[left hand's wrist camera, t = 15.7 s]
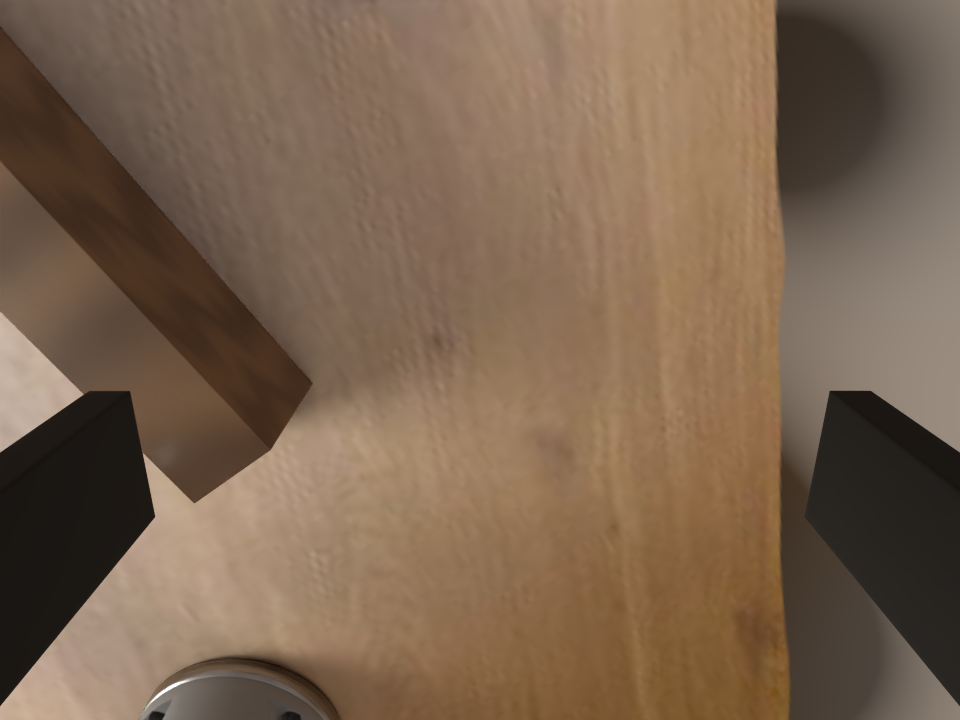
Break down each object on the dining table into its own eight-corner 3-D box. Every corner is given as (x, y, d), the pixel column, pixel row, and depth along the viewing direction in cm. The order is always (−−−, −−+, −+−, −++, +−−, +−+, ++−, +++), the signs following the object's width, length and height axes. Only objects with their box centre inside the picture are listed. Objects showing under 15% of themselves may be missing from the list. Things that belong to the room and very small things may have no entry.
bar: (312, 383, 40) (271, 449, 32) (249, 428, 41) (194, 503, 33) (-28, -6, 33) (-193, -46, 25) (-94, 61, 34) (-272, 43, 26)
